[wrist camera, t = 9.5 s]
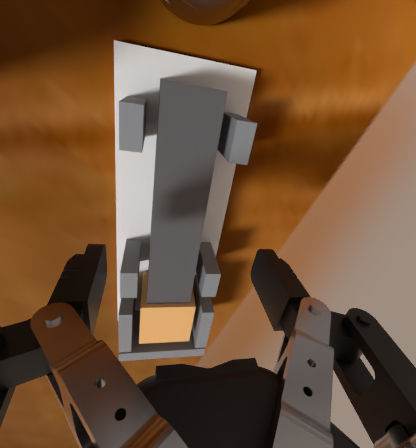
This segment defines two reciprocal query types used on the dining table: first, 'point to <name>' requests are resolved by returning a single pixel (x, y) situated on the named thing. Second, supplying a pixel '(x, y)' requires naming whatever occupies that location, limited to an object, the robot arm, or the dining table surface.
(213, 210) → the white grey holder tray
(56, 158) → the dining table surface
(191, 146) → the grey orange bar
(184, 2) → the supplement bottle
